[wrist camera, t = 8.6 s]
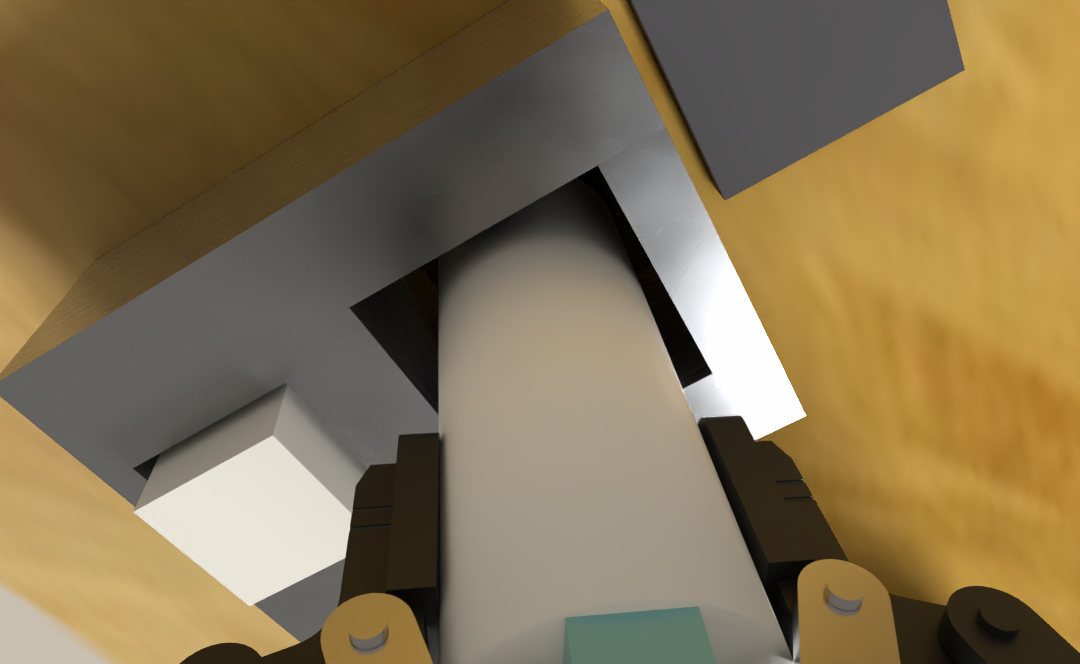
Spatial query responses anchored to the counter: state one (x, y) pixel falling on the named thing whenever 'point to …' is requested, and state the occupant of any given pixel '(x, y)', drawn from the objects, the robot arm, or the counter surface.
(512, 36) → the housing
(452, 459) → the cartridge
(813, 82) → the mat
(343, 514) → the off-white cube
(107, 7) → the counter surface
